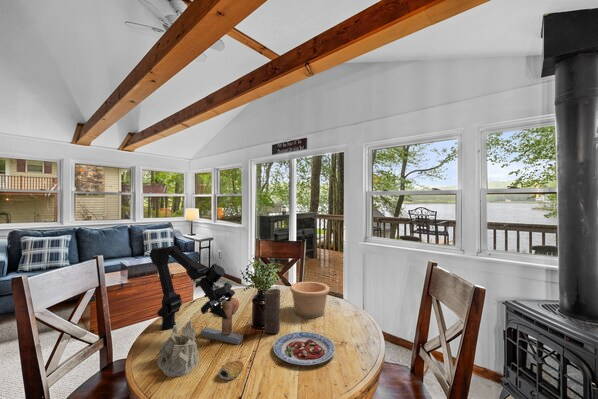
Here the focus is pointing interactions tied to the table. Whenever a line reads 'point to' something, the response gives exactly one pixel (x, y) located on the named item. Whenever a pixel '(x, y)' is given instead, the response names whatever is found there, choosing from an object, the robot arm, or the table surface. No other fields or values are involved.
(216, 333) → the ridge
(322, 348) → the ceramic plate
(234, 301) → the apple
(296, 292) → the pottery
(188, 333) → the grey castle model
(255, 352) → the table surface
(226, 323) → the rod
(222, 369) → the pastry
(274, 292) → the candle
